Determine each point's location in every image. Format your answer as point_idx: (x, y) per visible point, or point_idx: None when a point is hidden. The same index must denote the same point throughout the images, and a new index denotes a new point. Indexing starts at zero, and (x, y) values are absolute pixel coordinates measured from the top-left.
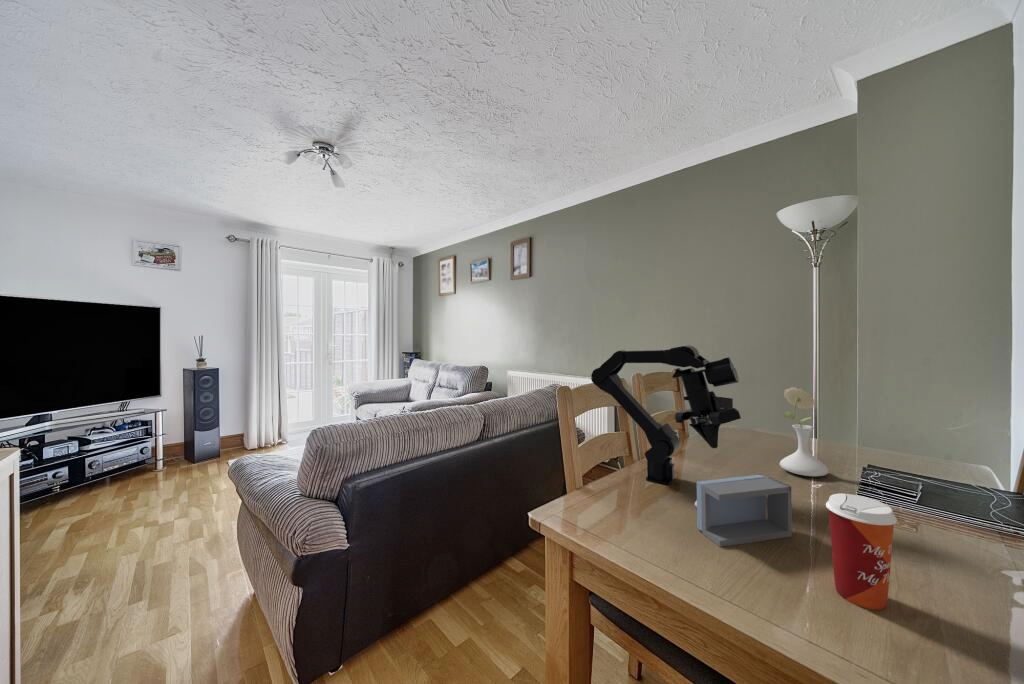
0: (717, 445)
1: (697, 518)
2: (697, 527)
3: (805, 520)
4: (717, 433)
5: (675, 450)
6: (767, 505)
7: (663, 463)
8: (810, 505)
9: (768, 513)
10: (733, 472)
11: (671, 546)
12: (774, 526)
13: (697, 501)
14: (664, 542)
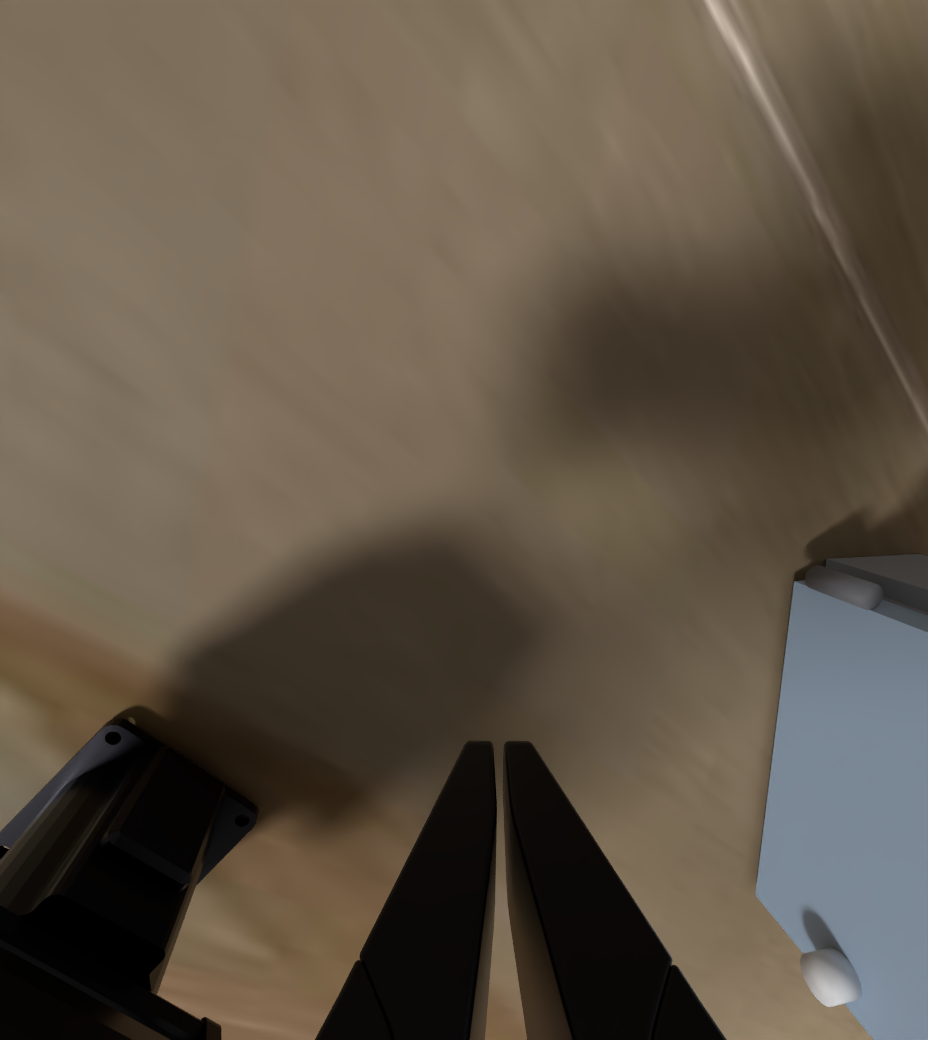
0: (545, 764)
1: (792, 936)
2: (759, 897)
3: (860, 348)
4: (705, 1033)
5: (123, 1035)
6: (925, 611)
7: (161, 977)
8: (762, 113)
9: (886, 595)
10: (55, 83)
11: (800, 1012)
12: (899, 605)
13: (871, 1030)
14: (773, 1026)
